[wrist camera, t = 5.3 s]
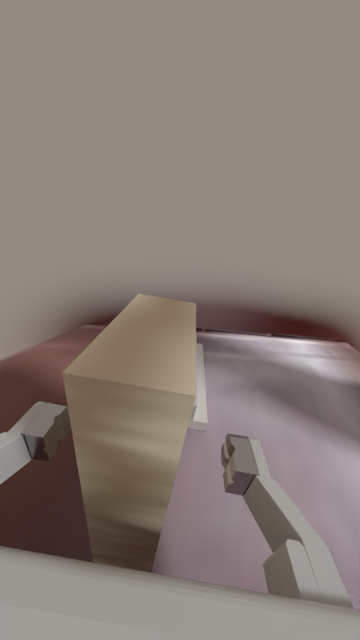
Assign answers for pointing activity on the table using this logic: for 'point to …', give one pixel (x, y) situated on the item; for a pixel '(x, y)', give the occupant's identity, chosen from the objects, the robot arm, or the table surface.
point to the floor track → (199, 394)
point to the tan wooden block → (132, 424)
